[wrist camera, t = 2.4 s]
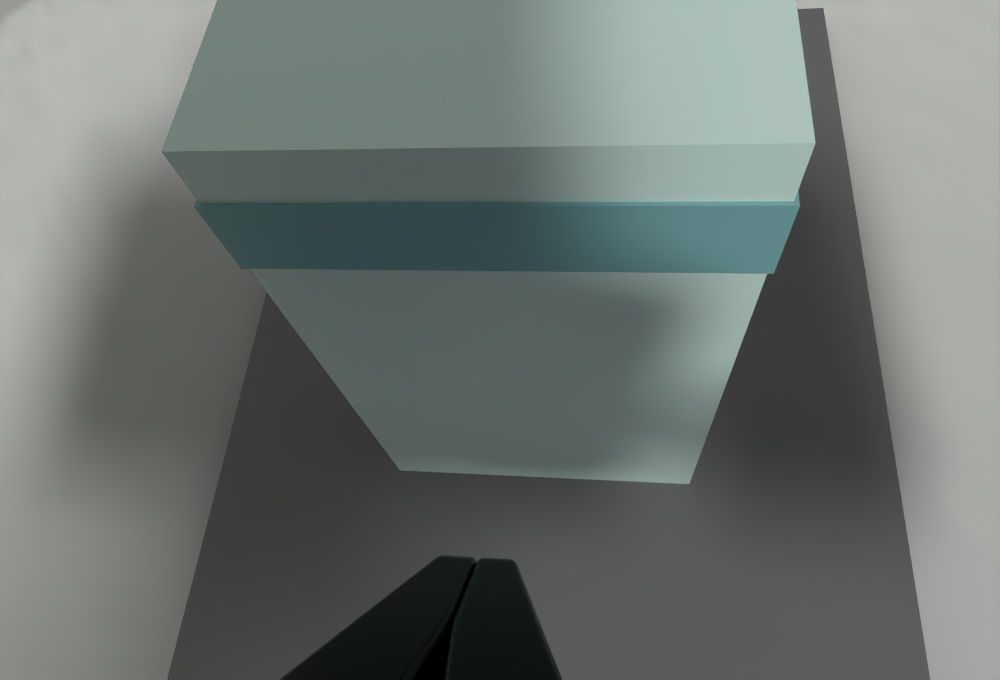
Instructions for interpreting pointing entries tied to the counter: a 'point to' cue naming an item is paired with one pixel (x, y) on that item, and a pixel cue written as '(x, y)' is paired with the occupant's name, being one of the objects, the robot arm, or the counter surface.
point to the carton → (508, 211)
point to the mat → (601, 501)
